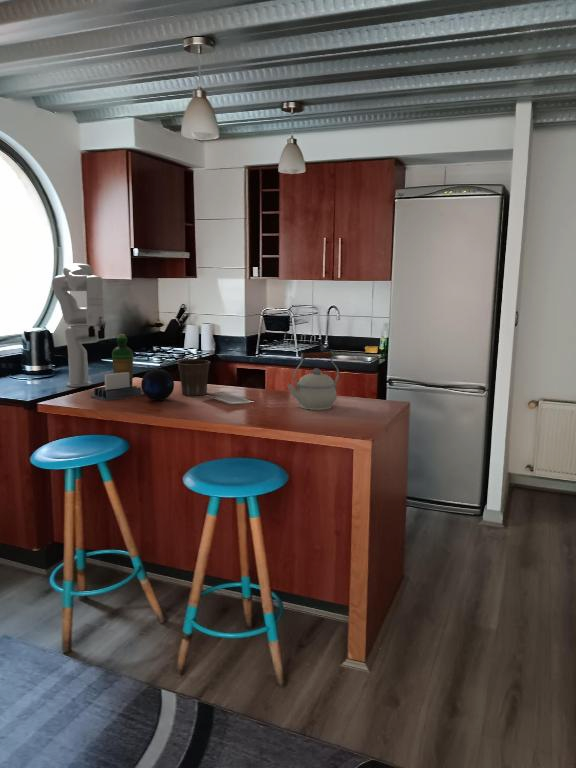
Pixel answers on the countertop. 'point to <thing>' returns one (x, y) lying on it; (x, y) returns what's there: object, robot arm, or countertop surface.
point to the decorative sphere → (157, 384)
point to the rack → (116, 393)
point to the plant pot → (193, 376)
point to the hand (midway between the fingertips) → (96, 337)
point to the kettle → (315, 386)
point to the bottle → (123, 358)
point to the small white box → (117, 380)
